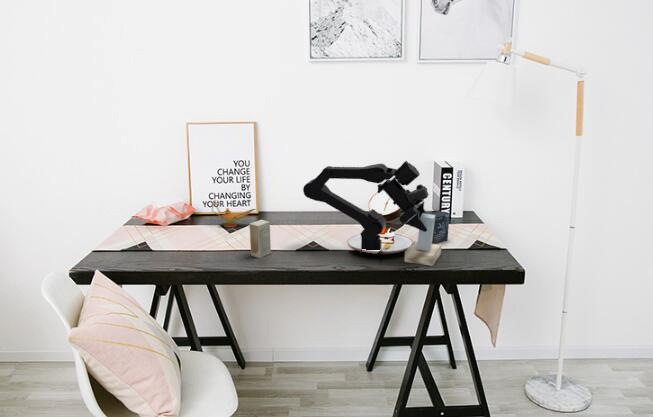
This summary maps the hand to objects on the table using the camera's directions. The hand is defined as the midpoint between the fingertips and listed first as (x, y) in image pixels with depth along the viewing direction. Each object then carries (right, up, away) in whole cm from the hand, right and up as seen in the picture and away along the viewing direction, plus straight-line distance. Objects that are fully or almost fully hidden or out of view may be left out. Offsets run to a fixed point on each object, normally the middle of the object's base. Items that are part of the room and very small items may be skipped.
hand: (428, 226), depth 215 cm
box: (+6, -6, +22) cm, 23 cm away
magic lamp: (-73, -1, +38) cm, 82 cm away
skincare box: (-59, -10, +6) cm, 60 cm away
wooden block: (-1, -12, +4) cm, 12 cm away
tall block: (-1, -8, +2) cm, 8 cm away
